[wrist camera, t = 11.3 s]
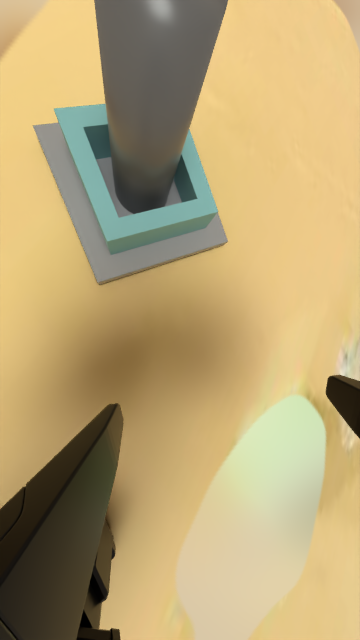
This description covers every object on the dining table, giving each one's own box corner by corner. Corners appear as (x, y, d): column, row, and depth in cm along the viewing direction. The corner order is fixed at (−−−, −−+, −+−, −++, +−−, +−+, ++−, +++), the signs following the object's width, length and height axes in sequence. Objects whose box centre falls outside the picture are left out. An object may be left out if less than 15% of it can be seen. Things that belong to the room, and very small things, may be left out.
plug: (144, 227, 18) (189, -46, 5) (102, 186, 17) (9, -296, 4) (177, 194, 19) (292, -115, 6) (139, 153, 18) (167, -330, 5)
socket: (99, 284, 18) (90, 274, 14) (38, 136, 17) (11, 82, 13) (223, 245, 22) (243, 227, 18) (179, 119, 20) (190, 71, 17)
